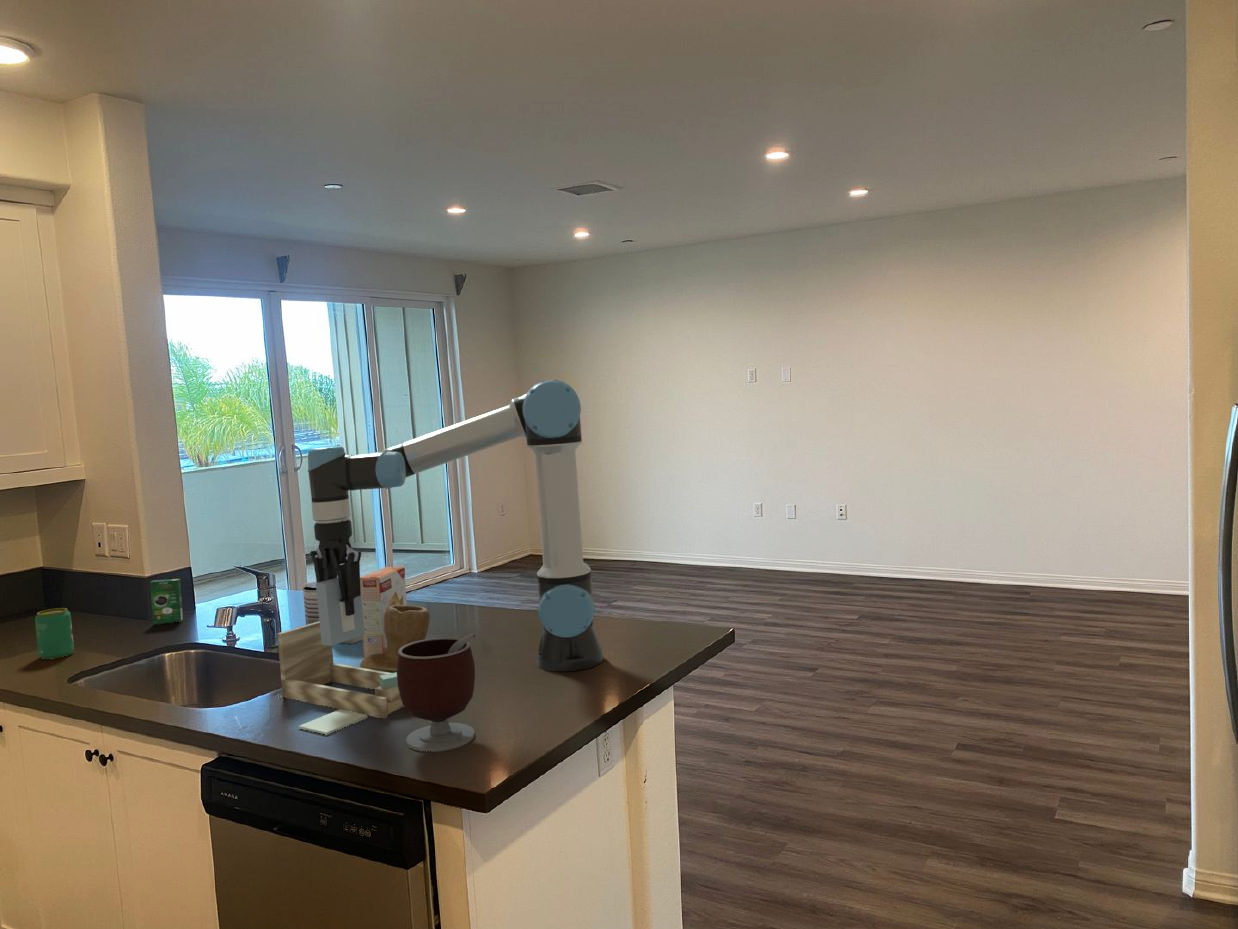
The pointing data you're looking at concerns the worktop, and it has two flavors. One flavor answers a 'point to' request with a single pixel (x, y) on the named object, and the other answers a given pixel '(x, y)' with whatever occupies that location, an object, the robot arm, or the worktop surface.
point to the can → (310, 603)
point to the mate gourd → (437, 690)
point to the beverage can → (54, 633)
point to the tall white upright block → (336, 614)
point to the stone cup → (399, 635)
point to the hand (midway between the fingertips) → (342, 629)
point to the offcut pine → (388, 693)
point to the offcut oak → (394, 705)
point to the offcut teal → (388, 680)
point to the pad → (333, 721)
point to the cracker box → (380, 605)
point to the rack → (324, 674)
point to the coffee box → (166, 601)
